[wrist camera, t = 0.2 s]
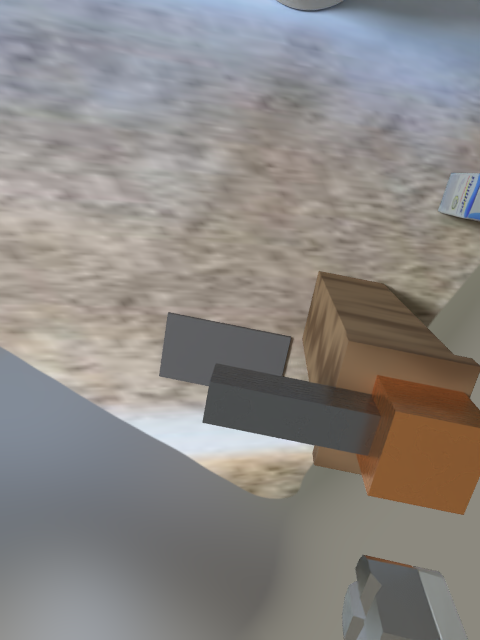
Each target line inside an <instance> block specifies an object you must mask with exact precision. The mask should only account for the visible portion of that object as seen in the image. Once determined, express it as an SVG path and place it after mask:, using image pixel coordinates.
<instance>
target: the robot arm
mask: <svg viewBox="0 0 480 640" xmlns="http://www.w3.org/2000/svg"><path fill="white" fill-rule="evenodd" d="M277 1H278V2H280V3H282V4H284V5H286V6H289V7H292V8H295V9H301V10H319V9H324V8H328V7H331V6H334V5H336V4H338V3H340V2H342V1H344V0H277ZM355 570H356V576H357V581H356V582H354V583H352V584H350V585H349V587H348V590H347V593H346V595H345V599H344V606H343V613H342V619H343V621H342V624H343V625H342V626H343V635H344V640H468V638H467V635H466V633H465V630H464V627H463V625H462V622H461V620H460V617H459V615H458V612H457V609H456V607H455V604H454V602H453V599H452V597H451V594H450V591H449V589H448V586H447V584H446V581H445V579H444V576H443V575H442V574H441V573H440V572H438V571H434V570H429V569H425V568H420V567H416V566H413V567H412V566H410V565H406V564H401V563H397V562H393V561H389V560H384V559H380V558H375V557H371V556H367V555H362V557H361V558H360V559H359V561H358V563H357V566H356V569H355Z"/></svg>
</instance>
